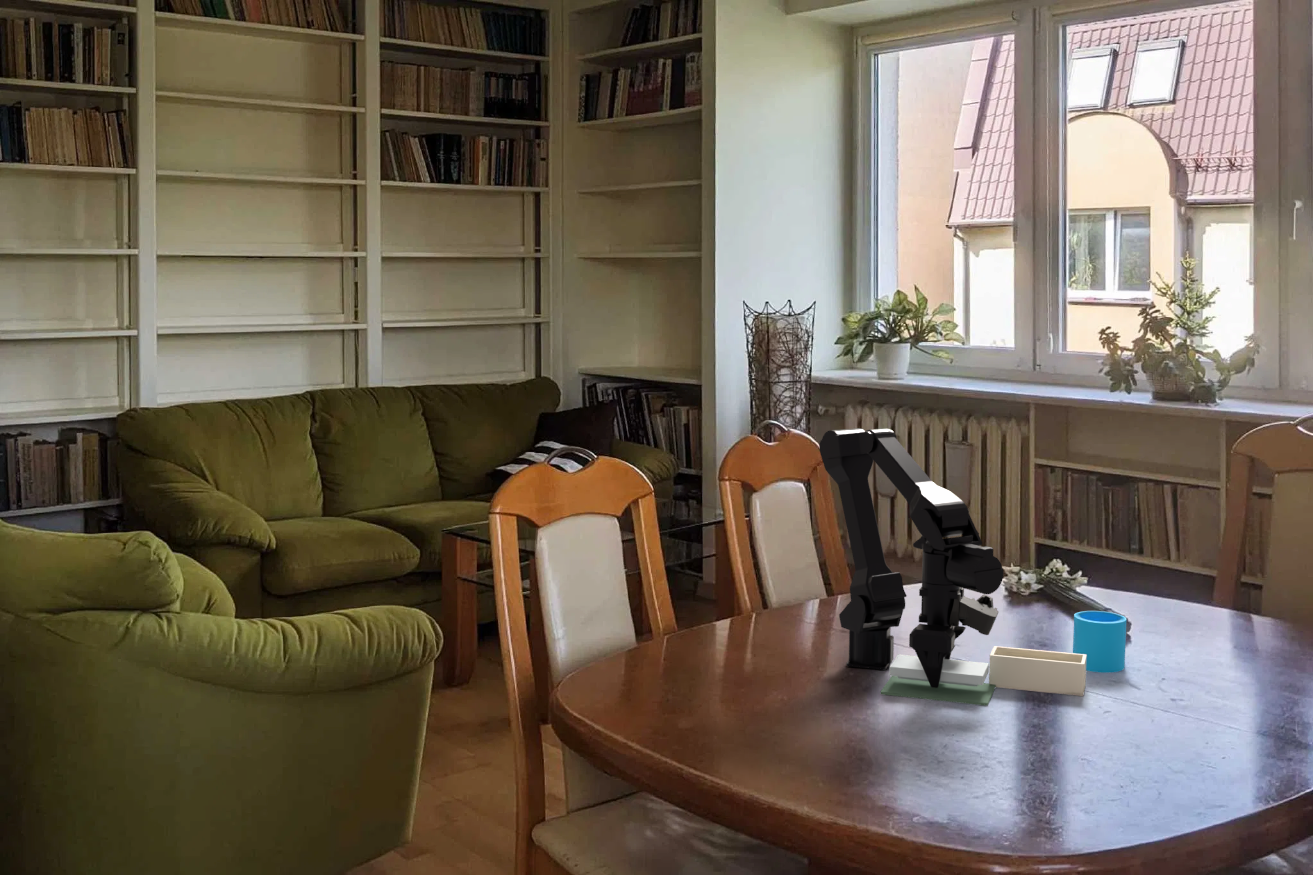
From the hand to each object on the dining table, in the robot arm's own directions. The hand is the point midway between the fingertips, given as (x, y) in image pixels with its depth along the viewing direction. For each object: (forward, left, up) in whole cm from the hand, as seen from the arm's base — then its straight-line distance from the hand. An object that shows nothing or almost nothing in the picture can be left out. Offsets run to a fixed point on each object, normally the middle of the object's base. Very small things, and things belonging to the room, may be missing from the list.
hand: (938, 680), depth 207 cm
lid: (0, 0, +1) cm, 1 cm away
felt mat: (0, 0, -2) cm, 2 cm away
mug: (+23, +24, -2) cm, 34 cm away
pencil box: (+14, +7, -2) cm, 16 cm away
